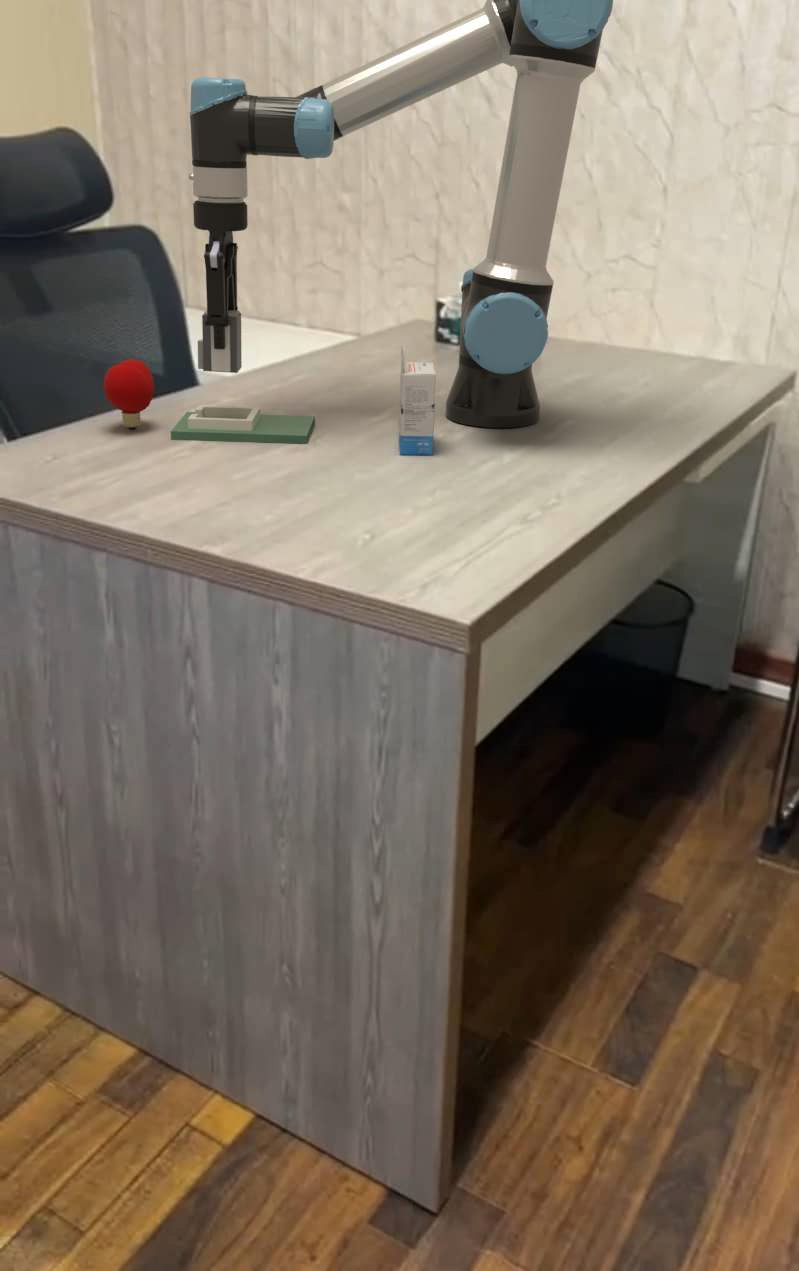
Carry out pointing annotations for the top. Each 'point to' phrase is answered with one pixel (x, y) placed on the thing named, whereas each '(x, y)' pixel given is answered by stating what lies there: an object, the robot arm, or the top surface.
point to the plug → (235, 343)
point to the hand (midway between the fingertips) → (224, 367)
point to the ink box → (416, 407)
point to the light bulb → (129, 390)
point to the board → (242, 425)
